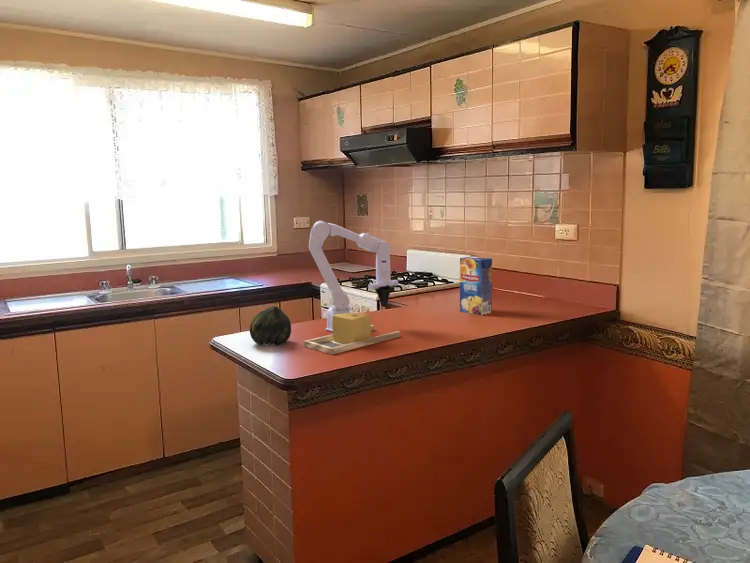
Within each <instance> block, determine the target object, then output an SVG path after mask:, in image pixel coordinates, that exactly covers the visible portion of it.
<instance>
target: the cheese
mask: <svg viewBox="0 0 750 563" xmlns="http://www.w3.org/2000/svg"><path fill="white" fill-rule="evenodd" d="M371 318H372V317H371V314H368V313H366V312H350V313H343V314H337V315H333V318H332V329H333V331H332V334H333V335H334V341H335V342H339V343H344V344H349V343H352V342H356V341H360V340H364V339H368V338H372V331H371V325H372V323H371V322H372V320H371Z"/></svg>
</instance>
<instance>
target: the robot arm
mask: <svg viewBox="0 0 750 563" xmlns="http://www.w3.org/2000/svg"><path fill="white" fill-rule="evenodd" d="M329 236H330V237H335V236H339V237H341V238H345V239H347V240H350V241H353V242H355V243H356V245H357V246H358V247H359V248H361V249H364V250H366V251H369V252H371V253H375V280H376V281H375V282H373V283H369V284H368V285H367V288H368V290H371V291H373V290H374V291H375V293H376V294H377V296H378V299H379V302H380V306H383V307H385V306H386V307H387V305H388V302H389V301H388V300H389V297H390V295H391V293H392V291H393V287H392V286H399V280H398V279H393V280H392V278H391V253H392V247H391V245H390V244H389V243H388V242H387V241H385V240H383V239H382V238H381V237H375V236H372V235H371V233H369V232H366V233H365V232H362V233H359V234H358V233H356V232H354V231H352V230H349V229H347V228H346V227H345V228H344V227H343V226H341V225H338V224H335V223H330V222H326V221H324V220H317V221H315V223H313V225H312V228H311V230H310V233H309V242H308V250H309V252H310V253H311V256H312V258H313V260H314V262H315V264H316V266H317V268H318V270H319V272H320V275H321V276H322V278H323V280H324V282H325V284H326V286H327V289H328V291H329V292H330V294H331V300H332V303H333V305H331V307H329V308H328V309H327V311H326V328H325V331H326V330H327V331H329V332H333V329H332V318H333V315H337V314H343V313H351V307H350V298H349V296H348V294H347V292H346V291H345V290H344V289H343V288H342V286H341V285H340V283H339V281H338V279H337V277H336V275H335V273H334V270H333V269H332V267H331V265H330V262H329V261H328V258H327V257H326V255H325V252H324V251H323V249H322V247H323V244H324V241H325V240H326V239H327V237H329Z"/></svg>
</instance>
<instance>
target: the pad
mask: <svg viewBox="0 0 750 563" xmlns="http://www.w3.org/2000/svg"><path fill="white" fill-rule="evenodd" d="M328 342H329V343H332V344H335V345H339V346H341V345H345V344H344V343H339V342H335V341H334V340H332V341H328Z"/></svg>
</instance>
